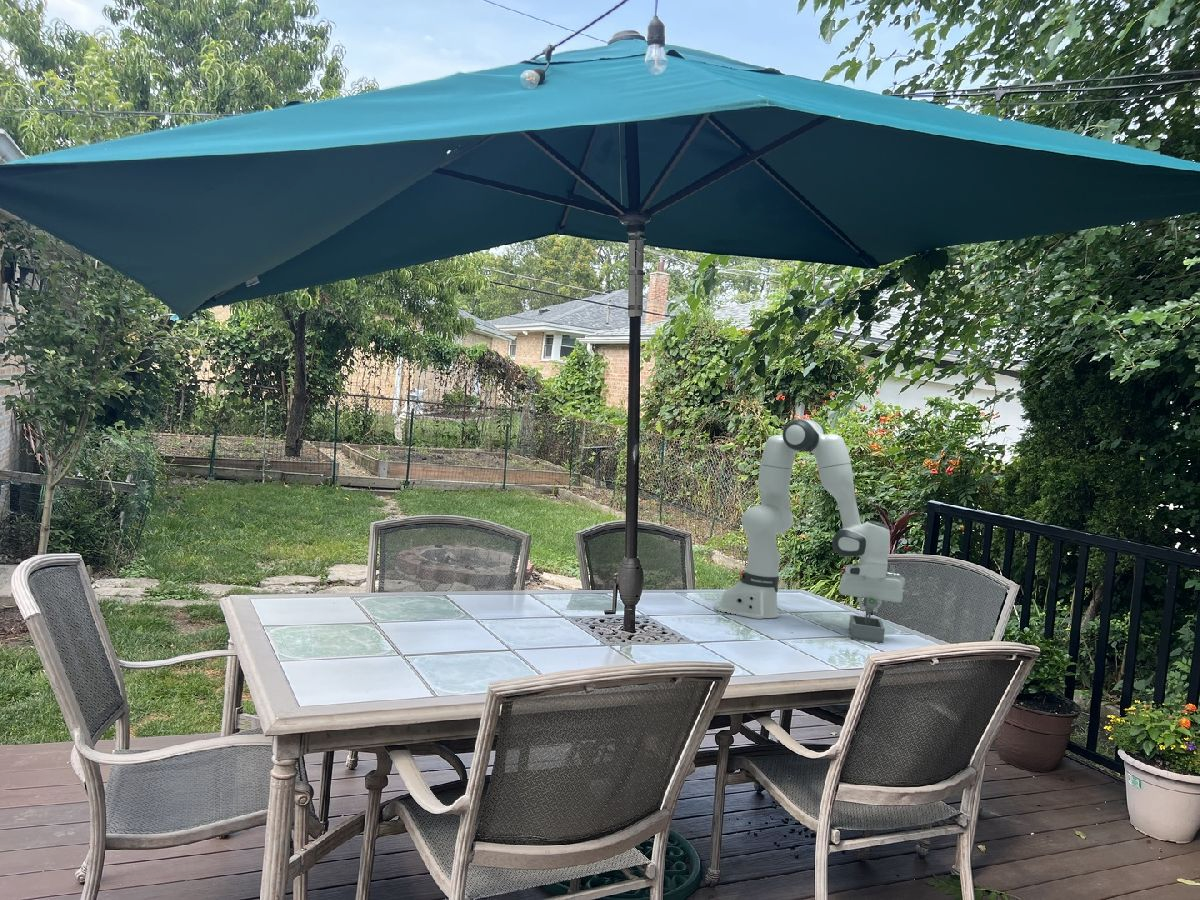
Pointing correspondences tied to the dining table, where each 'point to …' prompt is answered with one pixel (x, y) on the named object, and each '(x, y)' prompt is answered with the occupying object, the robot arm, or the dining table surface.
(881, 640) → the bin
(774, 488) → the robot arm
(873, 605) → the mechanical component
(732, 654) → the dining table surface
